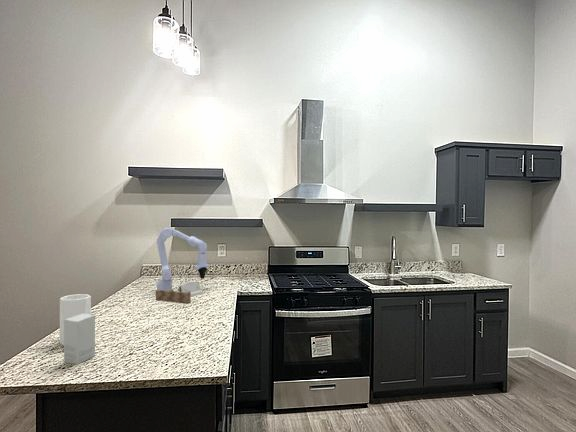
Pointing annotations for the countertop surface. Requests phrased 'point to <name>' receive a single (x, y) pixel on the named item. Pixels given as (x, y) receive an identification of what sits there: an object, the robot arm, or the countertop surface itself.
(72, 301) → the cup
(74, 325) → the skincare box
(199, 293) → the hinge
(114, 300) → the countertop surface
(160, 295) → the walnut bracket
